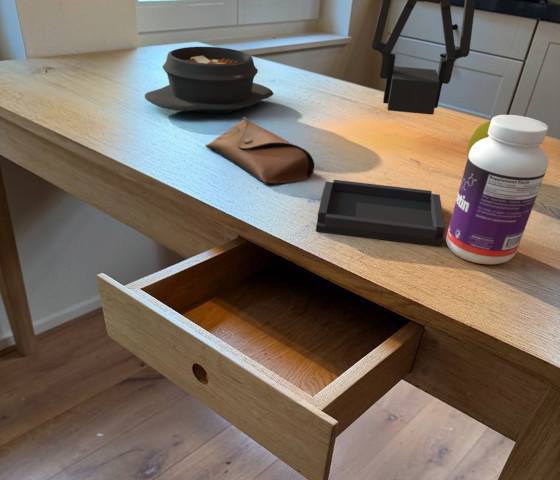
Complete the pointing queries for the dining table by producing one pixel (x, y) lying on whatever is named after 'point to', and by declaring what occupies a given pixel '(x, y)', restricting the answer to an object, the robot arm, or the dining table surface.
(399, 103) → the black block
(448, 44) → the robot arm
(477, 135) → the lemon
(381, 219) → the base pad
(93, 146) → the dining table surface
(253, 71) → the casserole
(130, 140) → the dining table surface
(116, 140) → the dining table surface
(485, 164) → the pill bottle
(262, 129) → the sunglasses case
